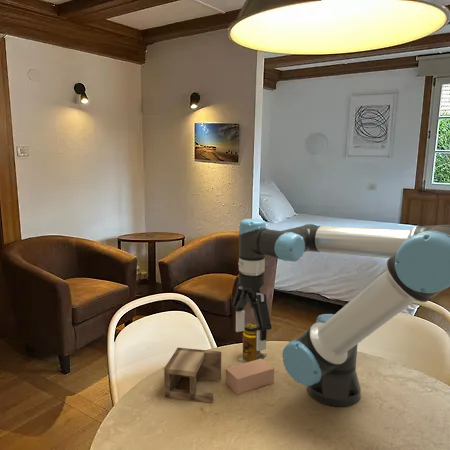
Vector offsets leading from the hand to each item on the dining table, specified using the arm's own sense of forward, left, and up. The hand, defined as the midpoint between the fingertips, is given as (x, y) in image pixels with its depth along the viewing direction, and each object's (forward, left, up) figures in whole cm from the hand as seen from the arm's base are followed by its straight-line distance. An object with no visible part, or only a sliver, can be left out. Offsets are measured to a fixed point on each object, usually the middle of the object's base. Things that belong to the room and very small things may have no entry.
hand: (250, 339), depth 126 cm
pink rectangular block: (0, 0, -14) cm, 14 cm away
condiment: (+1, -16, -14) cm, 21 cm away
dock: (+16, +6, -14) cm, 22 cm away
